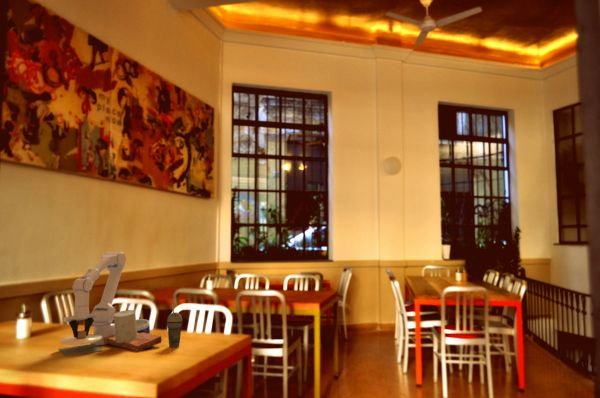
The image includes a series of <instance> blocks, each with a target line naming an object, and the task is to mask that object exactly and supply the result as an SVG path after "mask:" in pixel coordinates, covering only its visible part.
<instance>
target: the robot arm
mask: <svg viewBox="0 0 600 398" xmlns="http://www.w3.org/2000/svg"><path fill="white" fill-rule="evenodd" d="M100 258H101V259H100V260H99V261H98V262H97V264H96V265H95V266H94V267H91V268H88V269H87V271H85V273H84V274H83V275H82V276H81V277H80V278H77V279H75V280H74V281H73V283H72V286H71V287H72V290H73V295H74V315H71V316H65V317H63V323H68V324H69V326H70V328H71V331H72V334H73V335H74V337H75V338H77V336H78V331H79V321H83V324H84V329H83V330H86V336H88V334H90V333H89V332H90V329H91V326H93V334H98V335H101V336H102V339H101V340H99V341H96V342H92V343H91V344H96V345H97V346H104V345H106V344H105V343H104V337H107V336H111V335H114V336H115V325H114V314H115V313H116V308H115V307H114V306H113V302H114V299H115V296H116V292H117V289H118V285H119V282H120V279H121V276H122V272H123V270H124V269H125V265H126V262H127V257H126V254H125V252H123V251H119V252H118V251H116V252H115V251H105V252H104V253H103V254H101V257H100ZM105 269H106V270H107V271H109V274H108V277H107V281H106V284H105V286H104V289H103V293H102V295H101V299H100V302H99V303H98V304H96V305H95V306H93V309H92V311H91V313H89V311H90V309H89V308H90V291H91V290H92V289H93V285H94V284H95V282H96V281H97V280H98V279H99V278H100V276H101V273H102V272H103V271H104V270H105ZM111 337H113V336H111ZM109 338H110V337H109ZM109 338H107V342H108V339H109Z"/></svg>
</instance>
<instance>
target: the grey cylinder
mask: <svg viewBox="0 0 600 398" xmlns="http://www.w3.org/2000/svg"><path fill="white" fill-rule="evenodd" d="M136 320H137V317H136V311H135V310H133V309H129V310H128V309H127V310H126V309H125V310H120V311H117V312H115V314H114V320H113V323H114V325H115V336H116V342H117V343H122V342H130V341H134V340H136V339H137V338H138V337H137V327H136Z"/></svg>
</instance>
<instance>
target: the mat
mask: <svg viewBox="0 0 600 398" xmlns="http://www.w3.org/2000/svg"><path fill="white" fill-rule="evenodd" d="M58 350H59V351H60V352H61V354H62V355H63V357H66V356H75V355H83V354H93V353H101V352H103V350H102V349H101V348H100V347H99V345H96V344H92V343H88V344H81V345H75V346H68V347H59V348H58Z"/></svg>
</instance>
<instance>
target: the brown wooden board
mask: <svg viewBox="0 0 600 398" xmlns="http://www.w3.org/2000/svg"><path fill="white" fill-rule="evenodd" d="M111 336H113V337H111ZM111 336H107V337H104V343H105V344H104V345H110V346H114V347H118V348H121V349H128V350H131V351H133V350H134V351H133V352H139V351H140V352H143V351H145V350H146V349H149V348H152V347H154V346H157V345H159V344H161V343H162V340H163V339H162V335H158V334H157V335H156V334H152V333H150V334H147V333H138V332H137V337H138V338H137V339H136V340H134V341H130V342H122V343H117V342H116V336H114V335H111ZM109 337H110V338H109ZM107 338H109V339H108V342H107Z"/></svg>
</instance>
